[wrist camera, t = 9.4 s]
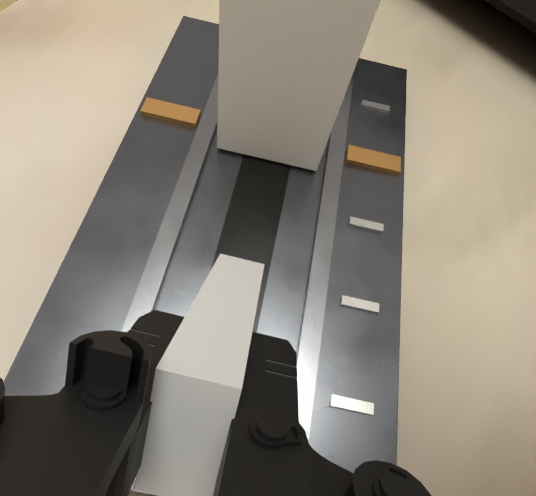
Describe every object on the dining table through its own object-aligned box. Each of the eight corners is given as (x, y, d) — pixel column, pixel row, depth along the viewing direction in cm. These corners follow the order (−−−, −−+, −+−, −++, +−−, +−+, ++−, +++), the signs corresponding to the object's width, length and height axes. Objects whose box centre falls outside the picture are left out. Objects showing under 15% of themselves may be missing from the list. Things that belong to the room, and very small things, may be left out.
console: (377, 536, 14) (410, 554, 12) (-10, 455, 14) (-56, 456, 11) (396, 89, 26) (415, 52, 23) (185, 38, 25) (182, -5, 23)
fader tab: (318, 173, 19) (472, -234, 8) (214, 148, 19) (218, -300, 8) (325, 126, 21) (465, -271, 9) (229, 103, 21) (251, -327, 9)
